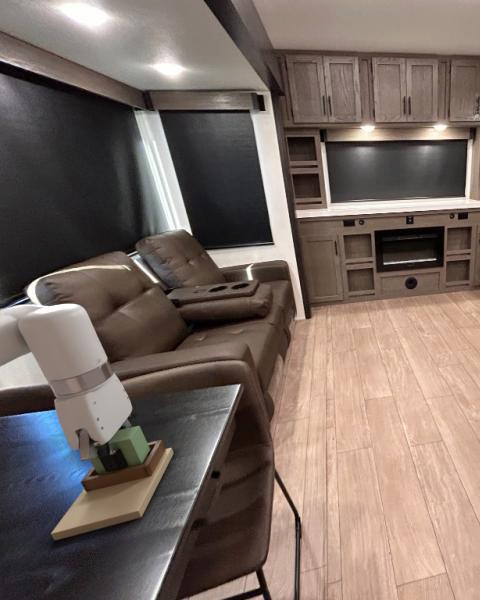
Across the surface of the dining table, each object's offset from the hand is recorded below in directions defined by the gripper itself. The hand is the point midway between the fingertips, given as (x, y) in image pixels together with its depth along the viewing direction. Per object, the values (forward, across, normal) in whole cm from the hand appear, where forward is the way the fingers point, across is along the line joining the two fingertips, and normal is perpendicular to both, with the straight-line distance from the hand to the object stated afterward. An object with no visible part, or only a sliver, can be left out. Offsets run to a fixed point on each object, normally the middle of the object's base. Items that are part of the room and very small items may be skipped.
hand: (123, 459), depth 60 cm
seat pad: (+5, +4, 0) cm, 6 cm away
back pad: (+1, 0, 0) cm, 1 cm away
